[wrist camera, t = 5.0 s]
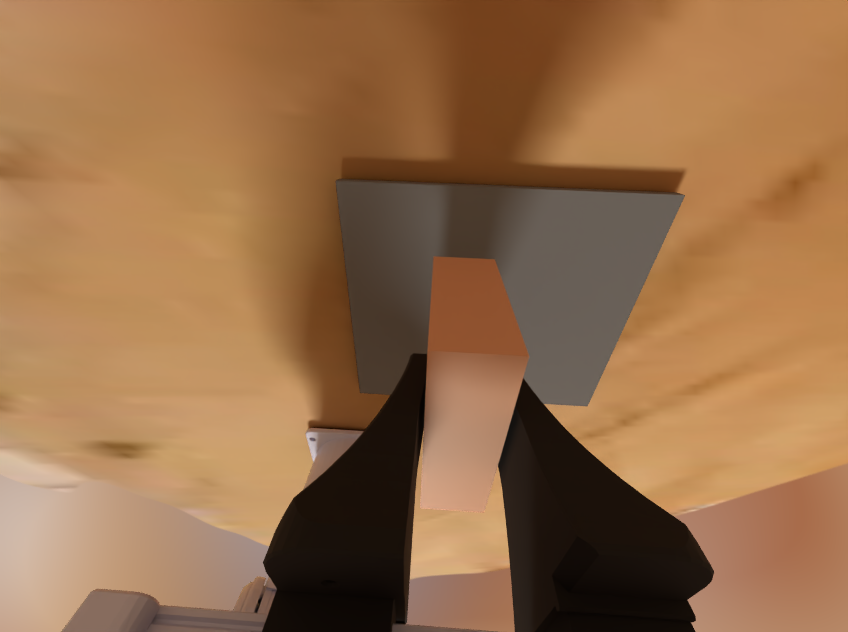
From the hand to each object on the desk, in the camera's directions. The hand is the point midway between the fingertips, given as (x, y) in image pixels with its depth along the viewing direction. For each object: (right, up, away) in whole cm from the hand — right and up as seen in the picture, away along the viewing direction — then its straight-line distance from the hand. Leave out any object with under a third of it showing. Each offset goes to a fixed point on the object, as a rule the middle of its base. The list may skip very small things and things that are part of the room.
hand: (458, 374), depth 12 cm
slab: (0, +1, +3) cm, 3 cm away
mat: (+2, +3, +6) cm, 7 cm away
